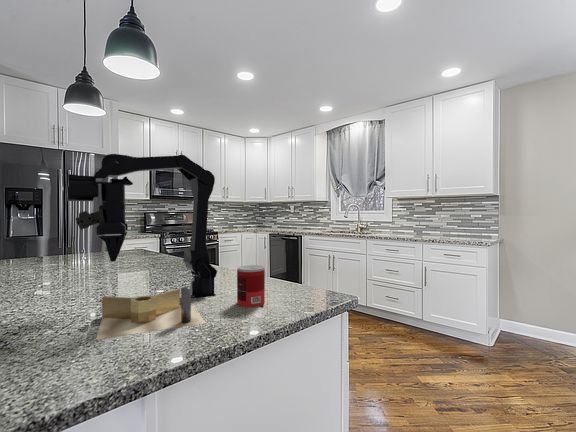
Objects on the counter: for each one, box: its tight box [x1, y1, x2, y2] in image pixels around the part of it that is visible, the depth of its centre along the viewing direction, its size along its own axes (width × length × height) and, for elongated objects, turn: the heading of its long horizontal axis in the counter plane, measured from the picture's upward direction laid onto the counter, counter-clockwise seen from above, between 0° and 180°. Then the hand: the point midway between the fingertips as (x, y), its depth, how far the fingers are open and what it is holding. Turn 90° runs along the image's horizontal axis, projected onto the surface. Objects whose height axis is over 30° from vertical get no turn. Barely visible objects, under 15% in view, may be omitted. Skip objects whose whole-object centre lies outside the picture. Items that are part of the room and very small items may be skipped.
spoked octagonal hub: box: [101, 288, 180, 324], centre depth 78 cm, size 18×9×5 cm, turn 116°
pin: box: [180, 286, 192, 323], centre depth 75 cm, size 2×2×8 cm
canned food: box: [236, 264, 266, 308], centre depth 90 cm, size 8×8×11 cm
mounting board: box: [95, 304, 207, 341], centre depth 76 cm, size 22×16×1 cm
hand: (114, 258), depth 86 cm, fingers open, 9 cm apart
